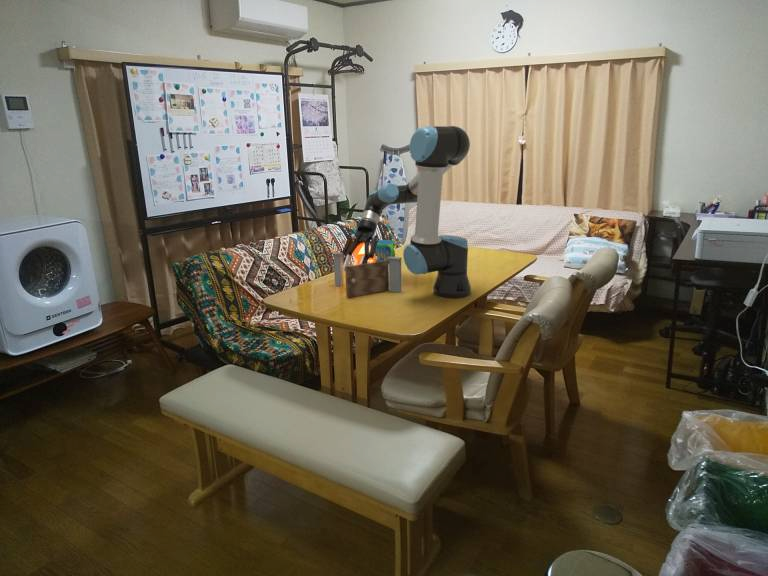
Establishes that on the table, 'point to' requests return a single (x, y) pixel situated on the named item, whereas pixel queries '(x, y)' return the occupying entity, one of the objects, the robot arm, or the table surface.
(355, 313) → the table surface
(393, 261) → the grey rectangular posts
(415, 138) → the robot arm
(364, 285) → the gate
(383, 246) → the snack cup
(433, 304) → the table surface
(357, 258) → the orange juice
